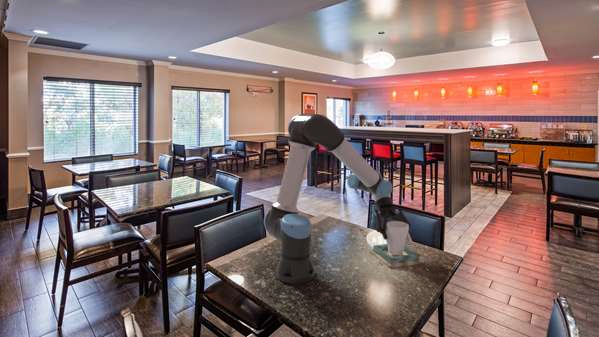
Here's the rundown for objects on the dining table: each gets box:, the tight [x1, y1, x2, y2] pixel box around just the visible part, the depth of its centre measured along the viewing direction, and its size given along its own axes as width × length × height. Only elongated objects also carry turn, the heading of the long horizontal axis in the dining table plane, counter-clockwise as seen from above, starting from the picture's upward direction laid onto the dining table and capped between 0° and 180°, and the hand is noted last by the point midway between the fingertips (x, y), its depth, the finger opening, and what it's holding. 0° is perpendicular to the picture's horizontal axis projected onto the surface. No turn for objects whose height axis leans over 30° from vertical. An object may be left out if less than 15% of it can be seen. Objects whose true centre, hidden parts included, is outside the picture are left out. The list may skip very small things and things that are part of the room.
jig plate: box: [368, 243, 425, 269], centre depth 147 cm, size 17×17×4 cm
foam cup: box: [386, 220, 410, 255], centre depth 146 cm, size 10×9×13 cm
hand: (400, 244), depth 143 cm, fingers closed on foam cup, 9 cm apart
